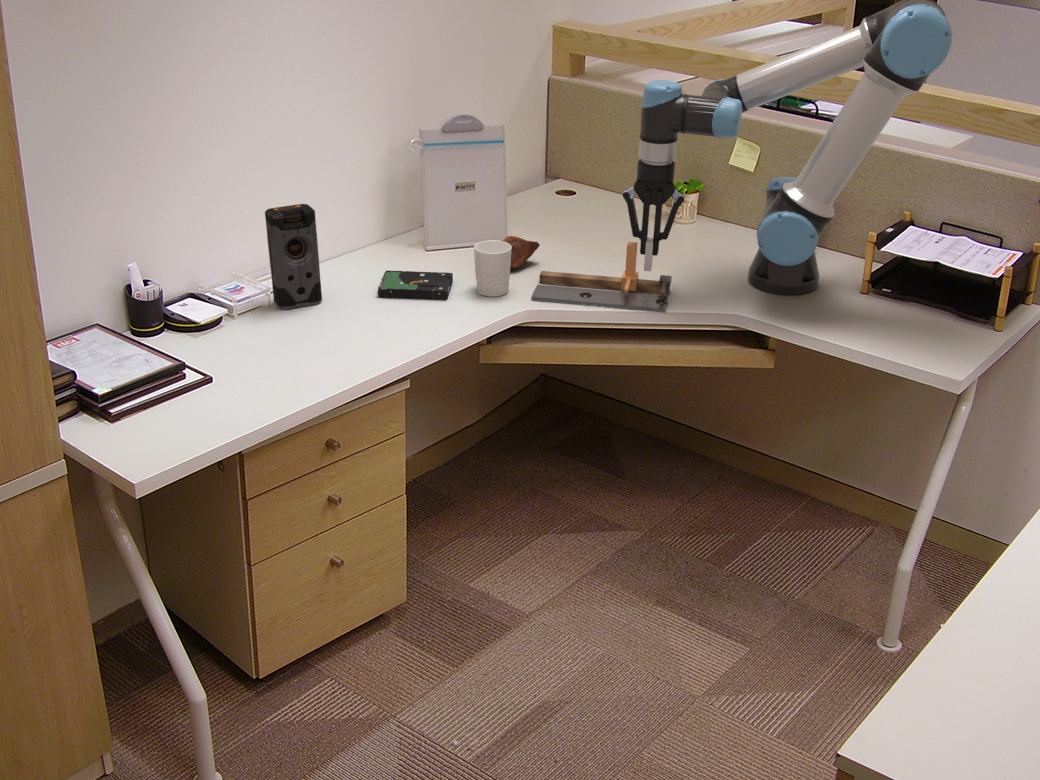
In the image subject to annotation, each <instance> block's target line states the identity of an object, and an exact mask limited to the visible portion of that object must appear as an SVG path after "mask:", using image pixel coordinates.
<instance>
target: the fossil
mask: <svg viewBox="0 0 1040 780" xmlns="http://www.w3.org/2000/svg"><path fill="white" fill-rule="evenodd" d="M501 241H503V242H506V243H508V244H510V245H511V247H512V249H511V267H510V269H517V268H519V267H520V266H522V265H523V264H524V263H526V262H527V261H528V260H529V259H530V258H531V257H532V256H533V254H534V253H535V252H536V251H537V250H538V248H539V247H540V243H539V242H538V241H531V240H526V239H524V238H521V237H520V236H519V237H518V236H515V235H509V236H506V237H505V238H504V239H501Z"/></svg>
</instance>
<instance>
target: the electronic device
mask: <svg viewBox="0 0 1040 780" xmlns="http://www.w3.org/2000/svg"><path fill="white" fill-rule="evenodd" d="M264 217H265V226H266V227H265V228H266V241H267V248H268V258H269V269H270V275H271V285H272V293H273V294H272V295H273V302H274V304H275V305H276V307H277V308H279V309H280V310H284V311H286V310H292V309H299V308H303V307H309V306H314V305H319V304H320V303H321V302H323V296H322V295H323V294H322V282H321V273H320V269H321V267H320V256H319V244H318V233H317V223H316V222H317V220H316V211H315V209H314V208H312V207H311V205H309V204H308V203H299V204H298V203H297V204H291V205H285V206H277V207H272V208H267V209H266V210H265V211H264Z"/></svg>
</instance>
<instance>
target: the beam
mask: <svg viewBox="0 0 1040 780" xmlns="http://www.w3.org/2000/svg"><path fill="white" fill-rule="evenodd" d="M672 278H673V277H672V275H668V274H667V275H665V274H660V276H659V280H655V279H654V280H652V279H642V278H638V280H637V286H636V291H632V290H628V292H631V293H643V294H654V295H660V300H664V296H665V295H666V296H669V295H670V290H671V289H670V287H671V285H672ZM621 281H622V277H619V276H618V277H617V276H605V275H596V274H595V275H594V274H586V273H585V274H584V273H583V274H582V273H573V272H572V273H571V272H558V271H550V270H549V271H547V270H541V271H540V273H539V285H551V286H562V287H574V288H585V289H597V290H601V289H602V290H608V291H620V292H624V290H621Z"/></svg>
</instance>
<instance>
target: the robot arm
mask: <svg viewBox="0 0 1040 780" xmlns="http://www.w3.org/2000/svg"><path fill="white" fill-rule="evenodd" d="M952 34H953V33H952V27H951V25H950V22H949V20H948V18H947V16H946V13H945V11H944V10H943V8H942V6H941V5H940V4H938V3H937V2H935V1H934V0H900V1H899V2H896V3H895V4H892V5H891V6H889V7H886V8H884V9H883V10H879V11H878V12H875V13H874V14H871V15H869V16H866V17H864V18H863V19H862V21H861V23H860V24H859V26H855V27H853V28H851V29H848V30H845V31H843V32H841V33H838V34H836V35H833V36H831V37H828V38H825V39H824V40H821V41H818V42H816V43H813V44H810V45H809V46H806V47H803V48H802V49H797V50H796V51H793V52H791V53H788V54H785V55H783V56H780V57H778V58H776V59H774V60H771V61H768V62H766V63H764V64H761V65H759V66H755V67H754V68H751V69H749V70H745V71H744V72H741V73H739V74H737V75H734V76H731V77H728V78H726V79H717V80H714V81H713V82H711V83H709V84H708V85H707V86H706V87H705V88H704V89H703V90H702V93H701V95H692V94H686V93H683V87H682V84H680V83H679V82H677V81H671V80H664V79H663V80H652V81H649V82H648V83H647V84H645V86H644V88H643V97H642V104H641V112H640V113H641V115H640V116H641V117H640V129H639V130H640V131H639V141H638V142H639V143H638V158H639V160H637V169H636V170H637V172H636V181H635V182H634V184H633V186H632V187H630V188H626V189H624V191H623V193H622V197H623V199H624V201H625V203H626V205H627V212H628V216H629V221H630V228H631V234H632V236H633V237H634V238H638V240H640V245H639V246H640V247H639V253H640V255H643V256H644V264H643V265H644V266H643V271H645V272H651V271H652V268H653V257H654V256H658V255H659V250H660V242H661V241H663V240H664V241H665V240H666V241H667V239H668V238H669V235H670V232H671V229H672V227H673V224H674V222H675V218H676V216H677V212H678V211H679V208H680V207H681V205H682V204H683V203H684V202H685V196H686V195H685V194H684V193H680V192H678V190H676V185H675V182H674V181H675V180H674V179H675V168H676V163H675V160H676V158H677V146H678V145H677V144H678V135H679V134H684V135H694V136H695V135H696V136H703V137H713V138H718V139H722V138H731V139H732V138H736V137H737V136H738V134H739V133H740V126H741V122H742V114H743V113H746V112H747V111H751V110H753V109H755V108H758V107H760V106H764V105H765V104H768V103H771V102H773V101H776V100H778V99H782V98H784V97H787V96H789V95H792V94H795V93H798V92H800V91H802V90H805V89H808V88H810V87H813V86H815V85H818V84H821V83H825V82H826V81H828V80H831V79H835V78H837V77H839V76H841V75H844V74H847V73H850V72H852V71H855V70H858V69H860V68H863V69H864V73H863V74H862V76H861V78H860V80H859V81H858V83H856V86H855V88H854V89H853V90H852V92H851V94H850V95H849V97H848V98H847V100H846V101H845V103H844V104H843V106H842V108H841V109H840V111H839V112H838V114H837V115H836V117H835V118H834V120H833V122H832V123H831V124H830V126H829V128H828V129H827V130H826V132H825V134H824V135H823V137H822V139H821V141H820V142H819V143H818V145H817V146H816V148H815V149H814V151H813V153H812V154H811V156H810V157H809V158H808V160H807V161H806V164H805V165H804V167H803V168H802V170H800V173H799V175H798V176H797V177H794V176H779V177H778V176H777V177H772V178H771V179H769V180H768V182H767V188H766V189H765V193H766V194H765V196H766V197H765V201H764V202H765V203H764V207H763V213H762V215H761V218H760V223H759V225H758V227H757V231H756V239H757V245H758V250H757V251H756V253H755V255H754V257H753V259H752V262H751V264H750V265H749V268H748V274H747V275H748V276H747V281H748V282H749V283H750V285H752V286H753V287H755V288H757V289H758V290H760V291H763V292H768V293H771V294H777V295H785V296H786V295H787V296H790V295H791V296H792V295H793V296H795V295H796V296H797V295H804V294H809V293H811V292H813V291H816V290H817V289H818V287H819V281H820V272H819V267H818V261H817V256H816V249H817V246H818V244H819V240H820V237H821V236H822V234H823V232H824V231H825V230H826V228H827V227H828V225H829V223H830V222H831V221H832V219H833V218H834V216H835V214H836V212H835V209H834V203H835V201H836V200H837V198H838V196H839V194H840V193H841V192H842V191H843V189H844V188H845V186H846V185H847V183H848V182H849V180H850V179H851V177H852V176H853V174H854V173H855V171H856V169H858V166H859V165H860V164H861V163H862V161H863V159H864V157H866V155H867V153H868V152H869V150H870V149H871V147H872V146H873V144H874V143H875V141H876V140H877V138H878V137H879V136H880V134H881V133H882V131H883V130H884V128H885V127H886V125H887V124H888V122H889V121H890V119H891V118H892V116H893V115H894V113H895V112H896V110H897V109H898V107H899V106H900V104H901V103H902V101H903V99H904V98H905V97H907V96H909V95H913V94H915V93H918V92H919V91H920V89H921V88H922V86H923V85H924V84H925V83H926V81H927V80H928V78H929V77H930V75H931V74H932V73H933V72H935V71H936V70H937V69H938V68H939V67H940V66H941V65H942V64H943V63H944V62H945V60H946V58H947V56H948V54H949V52H950V49H951V46H952V41H953V40H952V39H953V35H952ZM636 195H637V197H638V198H639V200H640V201H641V203H642V217H641V218H642V221H641V229H640V226H639V225H640V224H639V220H638V215H637V209H636V203H635V197H636ZM671 197H672V199H671V201H672V206H671V209H670V212H669V215H668V218H667V221H666V224H665V226H664V228H663V231H661V228H662V227H661V226H662V218H663V217H662V216H663V206H664V204H666V203H667V201H668V200H669V199H670V198H671ZM652 205H653V206H655V212H654V213H655V214H654V226H653V235H652V236H653V237H648V235H649V234H648V233H649V226H650V225H649V222H650V212H651V211H650V210H651V206H652Z"/></svg>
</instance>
